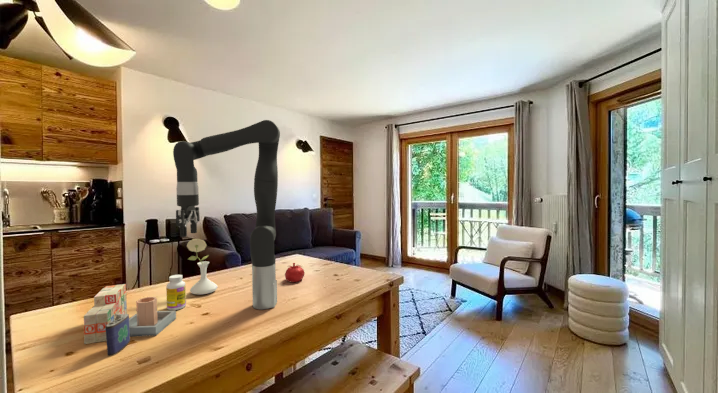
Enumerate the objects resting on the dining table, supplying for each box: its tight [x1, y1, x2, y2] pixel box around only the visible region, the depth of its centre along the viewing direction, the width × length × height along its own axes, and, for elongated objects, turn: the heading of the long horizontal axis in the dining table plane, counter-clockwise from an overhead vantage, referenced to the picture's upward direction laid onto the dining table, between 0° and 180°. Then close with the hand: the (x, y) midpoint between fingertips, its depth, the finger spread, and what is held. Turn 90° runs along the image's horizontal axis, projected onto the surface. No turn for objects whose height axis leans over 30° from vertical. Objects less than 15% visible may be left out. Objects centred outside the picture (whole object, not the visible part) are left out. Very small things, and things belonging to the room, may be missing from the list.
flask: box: [106, 313, 131, 357], centre depth 96 cm, size 9×3×11 cm, turn 8°
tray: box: [129, 310, 177, 338], centre depth 110 cm, size 13×13×3 cm
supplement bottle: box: [166, 274, 187, 311], centre depth 127 cm, size 7×7×13 cm
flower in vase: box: [186, 238, 218, 295], centre depth 144 cm, size 13×11×25 cm
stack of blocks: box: [83, 283, 128, 345], centre depth 109 cm, size 21×6×12 cm, turn 23°
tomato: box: [284, 262, 306, 283], centre depth 162 cm, size 10×10×9 cm
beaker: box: [135, 296, 158, 326], centre depth 110 cm, size 6×6×9 cm
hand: (188, 234), depth 123 cm, fingers open, 8 cm apart
